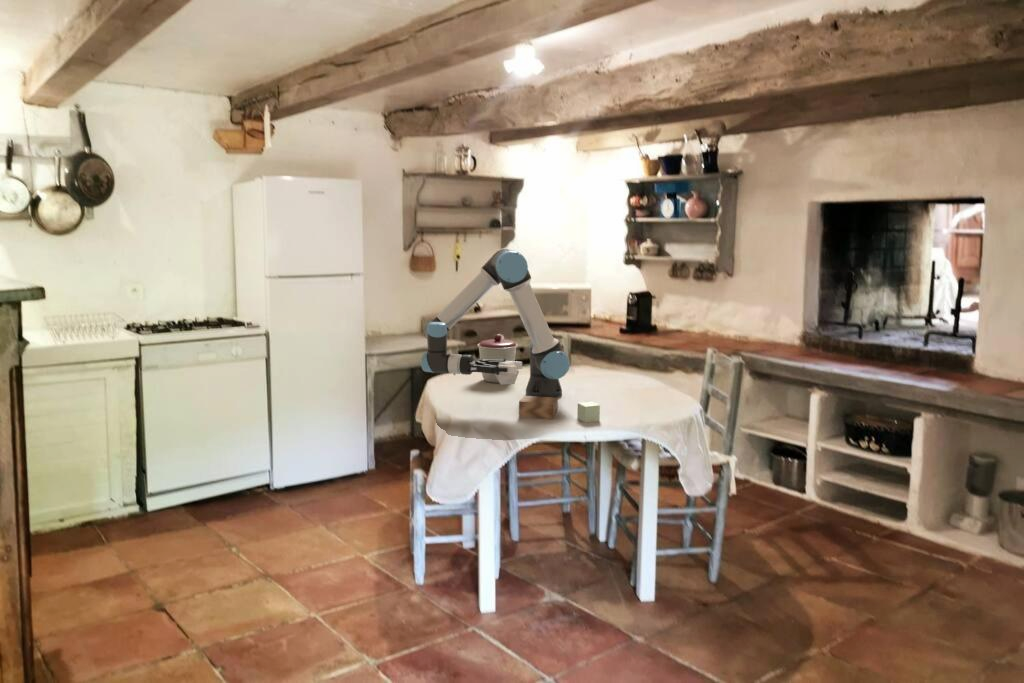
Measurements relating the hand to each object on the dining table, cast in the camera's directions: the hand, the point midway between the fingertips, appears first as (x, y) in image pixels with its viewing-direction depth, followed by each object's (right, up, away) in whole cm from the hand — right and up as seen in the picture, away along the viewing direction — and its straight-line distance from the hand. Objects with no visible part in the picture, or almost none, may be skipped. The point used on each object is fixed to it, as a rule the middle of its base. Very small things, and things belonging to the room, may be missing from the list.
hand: (519, 367), depth 298 cm
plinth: (+7, -18, +2) cm, 19 cm away
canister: (-9, -8, +59) cm, 61 cm away
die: (-5, -6, +2) cm, 8 cm away
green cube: (+26, -19, -4) cm, 32 cm away
